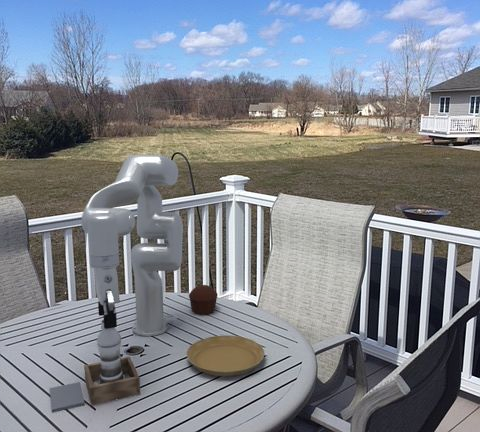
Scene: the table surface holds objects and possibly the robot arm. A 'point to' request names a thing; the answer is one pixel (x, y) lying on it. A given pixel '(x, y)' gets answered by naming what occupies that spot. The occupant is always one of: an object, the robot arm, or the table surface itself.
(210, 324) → the table surface
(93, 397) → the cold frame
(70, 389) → the slate tile
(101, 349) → the plastic bottle
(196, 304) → the muffin
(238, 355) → the plant saucer
